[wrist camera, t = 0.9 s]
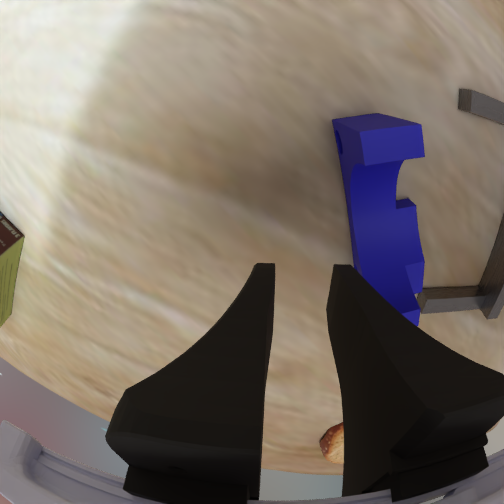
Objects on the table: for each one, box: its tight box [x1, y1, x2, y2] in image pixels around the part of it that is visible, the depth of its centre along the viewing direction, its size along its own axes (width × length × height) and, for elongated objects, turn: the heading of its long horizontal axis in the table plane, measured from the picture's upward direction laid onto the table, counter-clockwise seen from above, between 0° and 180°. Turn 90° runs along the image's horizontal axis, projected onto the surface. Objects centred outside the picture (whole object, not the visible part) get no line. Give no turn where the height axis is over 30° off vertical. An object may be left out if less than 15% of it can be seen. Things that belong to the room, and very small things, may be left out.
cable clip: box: [332, 113, 425, 326], centre depth 16 cm, size 12×4×6 cm, turn 15°
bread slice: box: [320, 422, 344, 464], centre depth 36 cm, size 18×18×4 cm
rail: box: [417, 89, 504, 319], centre depth 16 cm, size 8×18×3 cm, turn 1°
